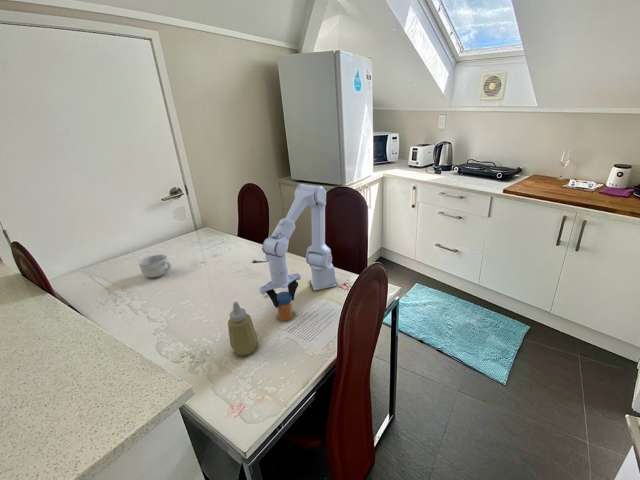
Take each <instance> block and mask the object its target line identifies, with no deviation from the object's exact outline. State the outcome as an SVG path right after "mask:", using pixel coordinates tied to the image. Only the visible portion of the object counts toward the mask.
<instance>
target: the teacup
mask: <svg viewBox="0 0 640 480" xmlns="http://www.w3.org/2000/svg"><path fill="white" fill-rule="evenodd" d="M137 263H138V265H139V268H140V272H141V273H142V275H143V276H144V277H147V278H151V279H153V278H154V279H155V278H159V277H160V276H164V275H165V274H166V273H167V272H168V271H169V270H170V269H171V268H172V262H171V261H170V260H169V259H168V256H167V255H166V254H153V255H150V256H146V257H143V258H141V259H140V260H138V262H137Z"/></svg>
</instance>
